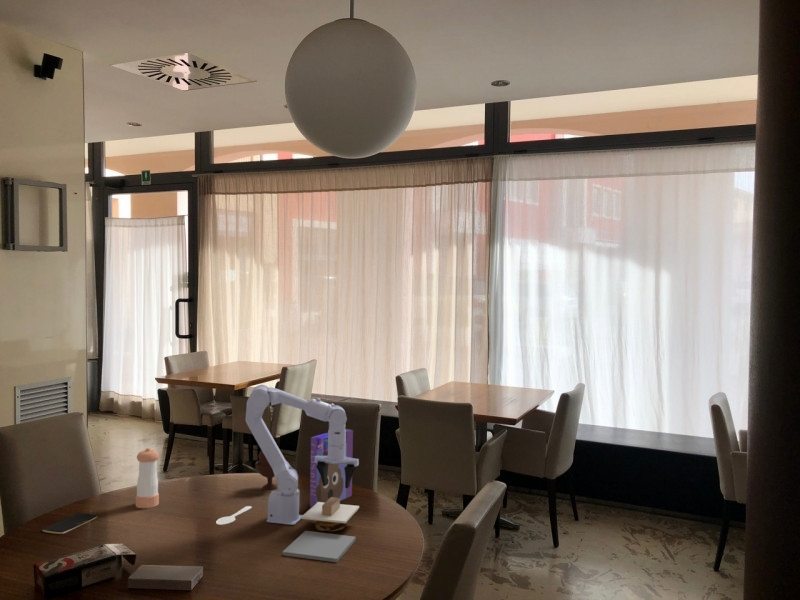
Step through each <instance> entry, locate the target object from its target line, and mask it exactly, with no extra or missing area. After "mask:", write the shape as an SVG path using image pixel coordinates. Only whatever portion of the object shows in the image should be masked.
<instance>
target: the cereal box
mask: <svg viewBox="0 0 800 600" xmlns="http://www.w3.org/2000/svg"><path fill="white" fill-rule="evenodd" d="M345 430H346V454H345V457H350V458H353V453H354V452H353V451H354V450H353V449H354V448H353V447H354V444H353V443H354V441H353V440H354V430H353V429H348V428H345ZM315 456H328V432H326V433H322V434H318V435H315V436H311V437H310V471H309V472H310V477H309V478H310V481H309V483H310V486H309V508H310V509H311V508H312V507H313V506H314V505H315V504H316V503H317V502H324V503H325V502H326V501H327V500H329V499H330V498H331V497H335V498H340V502H343V501H344V500H348V499H349V498H351V497H353V477H352V478H351V481H350V487H349V488H345V480H346V478H345V469H344V468H345V467H346V466H347V465H342V464H330V463H329V465H328V482H327V485H326V486H323V483H322V479H321V475H320V473H319V471H318V469H317V467H316V465H318V463H315Z"/></svg>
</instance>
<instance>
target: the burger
mask: <svg viewBox="0 0 800 600" xmlns="http://www.w3.org/2000/svg"><path fill="white" fill-rule="evenodd" d="M346 526H347V522H346V523H337V522H328V521H318V520H315V525H314V527H315V529H316V530H317V531H318V532H333V533H334V532H337V531H341V530H344V529H345V527H346Z"/></svg>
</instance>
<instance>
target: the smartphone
mask: <svg viewBox="0 0 800 600" xmlns="http://www.w3.org/2000/svg"><path fill="white" fill-rule="evenodd" d="M97 518H98V515H97V514H92V513H85V512H84V513H83V512H77V513H75V514H72V515H71V516H69V517H65V518H64V519H62V520H59V521H57V522H55V523H53V524H50V525H48V526H46V527H44V528H42V532H44V533H49V534H50V533H51V534H57V535H58V534H59V535H61V534H62V535H64V534H66V533H68V532H70V531H72V530H74V529H77V528H78V527H80V526H82V525H85V524H87V523H89V522H91V521H93V520H95V519H97Z"/></svg>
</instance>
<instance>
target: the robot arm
mask: <svg viewBox="0 0 800 600" xmlns="http://www.w3.org/2000/svg"><path fill="white" fill-rule="evenodd" d="M269 404H270V406H274V405H279V404H283V405H286V406H290V407H293V408H296V409H299V410H302V411H304V413H305V415H306V416H308V417H311V418H314V419H316V420H320V421H322V422H328V431H327V433H328V456H315V463H318V465H316V467H317V469H318V471H319V473H320V475H321V479H322V483H323V486H326V485H327V482H328V465H329V463H330V464H342V465H347V466H346V467H345V468H344V469H345V478H346V480H345V488H349V487H350V481H351V478H352V479H353V475H354V472H355V470H356V468H357V467H358V466H359V464H360V461H359V460H360V459H359V458H354V457H352V458H350V457H345V454H346V430H345V429H346V423H347V420H348V417H347V414H346V411H345V409H344V408H343V407H342V406H340V405H338V404H336V405H335V404H334V403H327V402H325V401H322V400H321V398H320V397H316V398H310V399H308V400H307V399H306V398H305V399H304V398H302V397H300V396H296V395H294V394H292V393H289V392H287V391H284V390H281V389H278V388H276V387H272V386H269V387H268V385H264V384H259V385H257V386H255V387H254V388H253V389H252V391H251V393H250V394H249V396H248V399H247V401H246V410H245V422H246V425H247V427H248V429H249V430H250V433H251V434H252V436H253V437H254V439H255V441H256V443H257V445H258V446H259V448H260V449H261V450H262V452H263V453H264V455H265V457H266V459H267V460H268V462H269V464H270V466H271V467H272V469H273V472H274V475H275V477H274V478H275V480H276V482H277V489H276V490H271V492H270V493H269V496H268V500H267V519H266V523H273V524H281V525H289V526H294V525H296V524H297V523H298V522H299V521H301V520H302V519H301V517H302V516H303V515H304V514H300V513H299V512H300V488H298V487H299V474H298V473H299V472H298V471H297V469H294V468H293V467H292V466H291V465H290V463H289V461H287V460H286V458H285V457H284V455H283V453H282V451H281V450H280V448H279V446H278V445H277V442H276V441H275V439H274V437H273V435H272V434H271V432H270V430H269V428H268V427H267V424H266V422H265V421H264V419H263V414H264V412H265V410H266V408H267V407H268V406H269ZM261 450H260V451H261Z"/></svg>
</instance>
